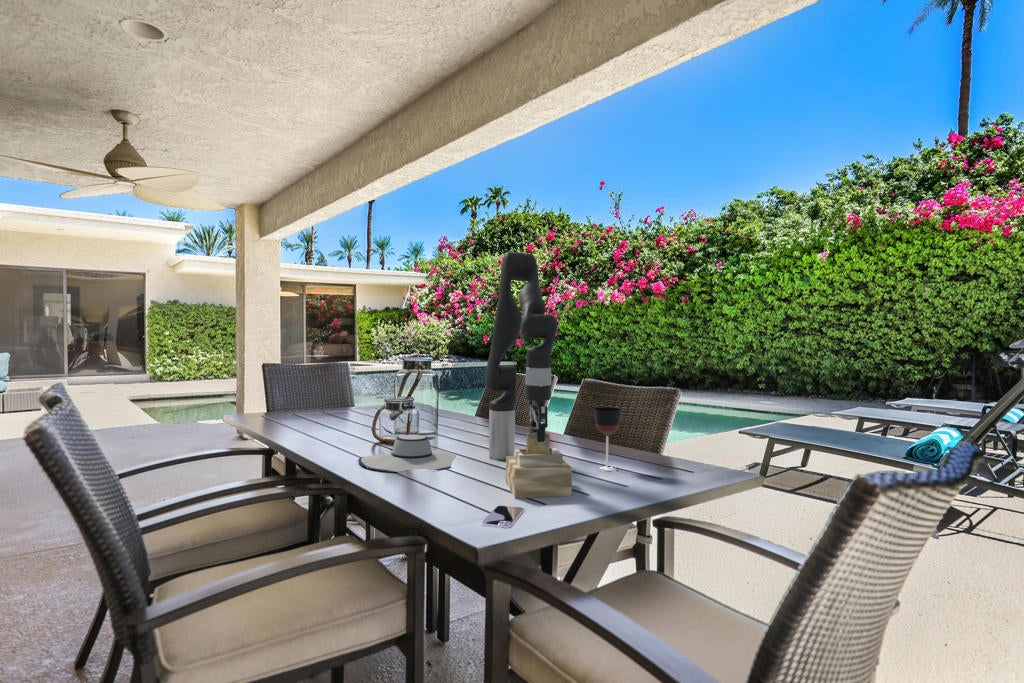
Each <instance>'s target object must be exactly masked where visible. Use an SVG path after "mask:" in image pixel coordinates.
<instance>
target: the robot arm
mask: <svg viewBox="0 0 1024 683" xmlns="http://www.w3.org/2000/svg"><path fill="white" fill-rule="evenodd" d="M539 278H540V277H539V271H538V264H537V259H536V257H535V256H534V255H533V254H532V253H528V252H527V253H526V252H518V251H517V252H516V251H506V252H505V253H504V254H503V257H502V260H501V269H500V282H499V293H498V300H497V306H496V312H495V317H494V324H493V331H492V338H491V339H492V340H491V347H490V351H489V356H488V360H487V364H486V368H485V369H486V370H485V373H484V374H485V375H484V385H485V389H486V390H488V391H490V392H497V391H498V392H503V393H502V394H501V396H499V397H497V398H495V399H493V400H491V401H490V402H489V404H488V405H489V406H488V408H489V409H488V410H489V411H488V412H489V413H488V415H489V422H488V424H489V426H488V427H489V430H488V436H489V437H488V439H489V440H488V458H490V459H494V460H500V461H501V460H503V461H506V457H507V456H514V449H516V448H515V447H516V443H515V442H516V440H515V439H516V431H515V430H516V426H515V425H516V420H515V419H516V400H517V383H518V382H517V381H518V380H517V378H518V375H517V370H516V367H515V366H514V365H512V364H501V362H502V359H503V358H504V357H505V355H506V353H507V352H508V351H509V350H510V349H511V347H512V346H513V345H514V344H515V343H516V342H517V340H518V338H519V336H520V334H522V336H524V337H525V338H527V339H543V340H542V342H541V343H540V344H539V345H534V346H531V347H528V348H527V349H526V354H525V355H526V359H525V360H526V361H525V362H526V363H525V364H526V366H525V368H526V369H525V377H524V380H525V381H524V385H525V386H524V387H525V388H524V389H525V390H524V393H525V394H524V398H525V399H526V401H528V404H529V406H528V420H529V423H530V427H537V430H533V432H534V433H537V441H538V442H544V441H545V434H546V430H547V428H548V426H549V424H548V409H549V408H548V406H546V405H545V401H550V400H551V399H552V370H551V369H552V367H551V366H552V361H551V360H552V359H551V358H552V357H551V355H552V350H553V349H552V348H553V344H554V341H555V337H556V333H557V331H558V321H557V318H556V317H555V316H554V315H553V314H550V313H547V314H546V305H545V302H544V300H543V296H542V293H541V287H540V279H539ZM512 281H515V282H516V281H518V282H526V283H525V285H523V287H522V288H521V290H520V292H519V294H518V295H519V296H518V300H519V305H520V308H519V305H518V304H517V301H516V300H515V297H514V296H513V293H512V290H511V289H512V288H511V287H512V286H511V285H512ZM520 309H521V310H520ZM520 332H521V333H520ZM545 429H546V430H545Z"/></svg>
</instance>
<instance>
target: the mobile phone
mask: <svg viewBox="0 0 1024 683" xmlns="http://www.w3.org/2000/svg"><path fill="white" fill-rule="evenodd" d="M524 512H525V508H524V507H520V506H509V505H497V506H495V508H494V509H493V510H492V511H491V512H490V513H489V514H488V515H487V516H486V517H485V518H484V519H483V520H482V521H481V522H480V526H482V525H485V526H484V527H489V526H495V527H494V528H498V527H504V528H503V529H509V528H508V527H510V528H511V527H513V525H514V524H515V523H516V521H517V520H518V519H519V518H520V516H521V515H522V514H523V513H524ZM518 517H519V518H518Z"/></svg>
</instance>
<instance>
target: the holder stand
mask: <svg viewBox="0 0 1024 683" xmlns="http://www.w3.org/2000/svg"><path fill="white" fill-rule="evenodd" d="M526 451H527V447H526V448H515V449H514V456H507V457H506V459H505V484H506V483H507V484H506V485H507V487H508V489H509V488H510V489H509V490H510V492H511V494H512V495H513V498H514V499H526V498H527V499H531V498H552V497H553V498H554V497H572V492H573V490H572V489H573V488H572V487H573V486H572V485H573V484H572V482H573V481H572V479H573V475H572V474H573V470H572V469H573V468H572V466H571V465H569V463H567V462H566V461H565V460H564V459H563V458H564V457H563V456H564V455H563V453H562V452H561V451H559V450H558V449H557V448H556V447H550V454H530V455H526Z"/></svg>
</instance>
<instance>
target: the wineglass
mask: <svg viewBox="0 0 1024 683" xmlns="http://www.w3.org/2000/svg"><path fill="white" fill-rule="evenodd" d="M593 412H594V422H595V427H596V428H597V430H598V431H599V432H600V433H602V435H605V465H604V467H600V466H599V467H600V469H604V470H612V469H614V468H613V467H614V466H610V467H608V466H609V436H611V435H612V434H615V432H617V431H618V429H619V427H620V424H621V416H622V409H621V408H619V407H618V408H617V407H609V406H607V407H605V406H604V407H595V408H594V411H593Z"/></svg>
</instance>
